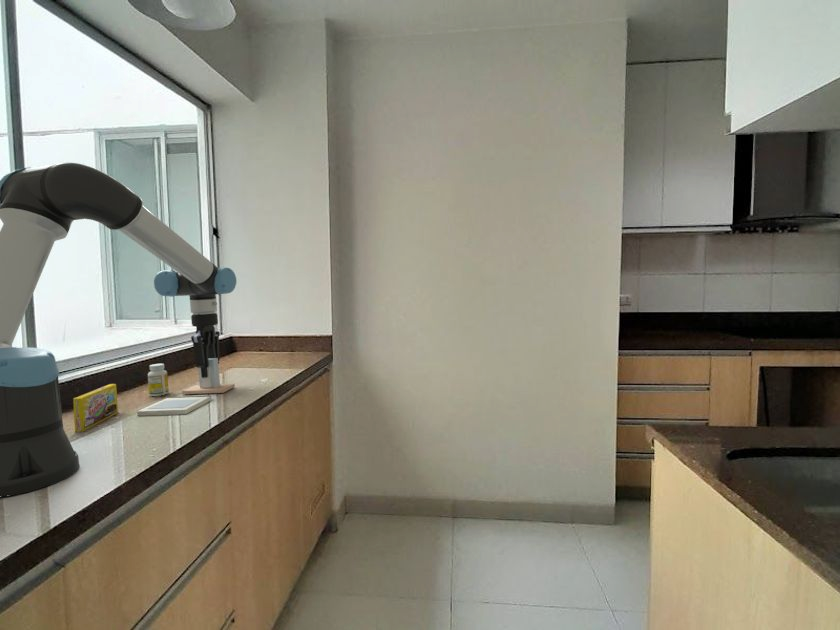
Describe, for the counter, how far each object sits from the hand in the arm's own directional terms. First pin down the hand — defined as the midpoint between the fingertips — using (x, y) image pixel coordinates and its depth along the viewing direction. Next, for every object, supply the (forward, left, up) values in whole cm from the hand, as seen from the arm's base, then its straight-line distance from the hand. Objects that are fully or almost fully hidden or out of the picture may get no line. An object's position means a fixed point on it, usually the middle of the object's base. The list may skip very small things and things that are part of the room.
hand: (209, 385), depth 143 cm
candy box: (-30, +14, -2) cm, 33 cm away
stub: (-1, 0, -1) cm, 1 cm away
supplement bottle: (-3, +15, -2) cm, 15 cm away
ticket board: (-19, 0, -2) cm, 19 cm away
